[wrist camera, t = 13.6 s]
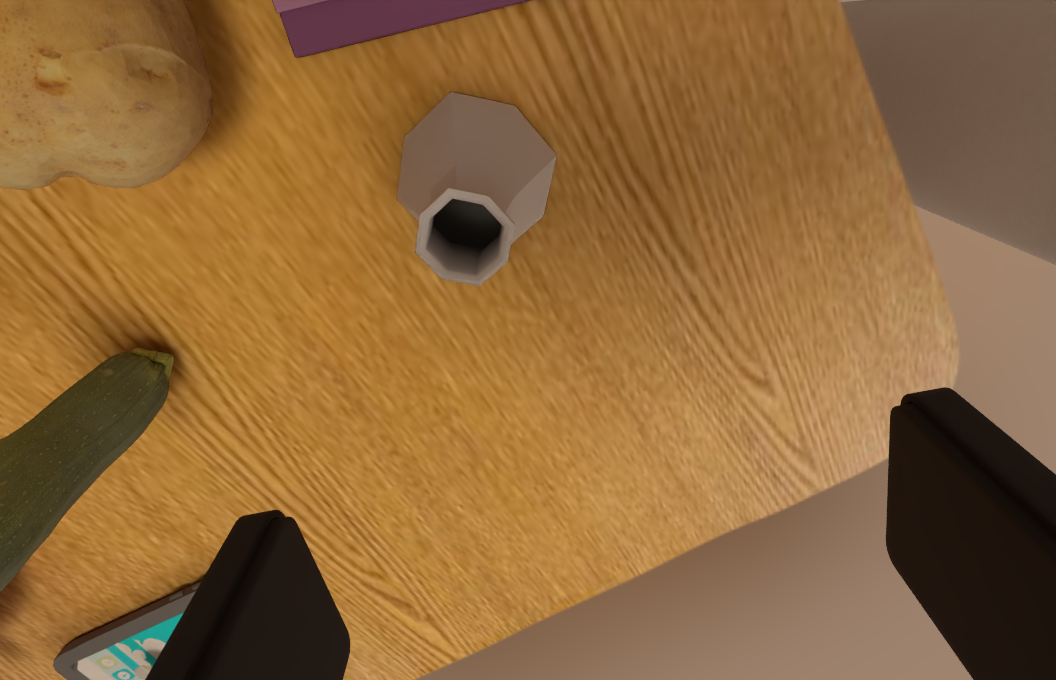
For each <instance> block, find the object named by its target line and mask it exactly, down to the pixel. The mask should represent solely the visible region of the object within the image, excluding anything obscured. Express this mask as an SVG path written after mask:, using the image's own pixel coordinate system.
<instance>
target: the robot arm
mask: <svg viewBox="0 0 1056 680" xmlns="http://www.w3.org/2000/svg"><path fill="white" fill-rule="evenodd" d="M886 546H887V551H888V554H889V557H890V559H891V561H892V563H893V565H894V567H895V568H896V570H897V571H898V573H899V574H900V575H901V576H902V578H903V579H904V581H905V582H906V584H907V585H908V587H909V588H910V590H911V591H912V593H913V594H914V595H915V597H916V598H917V600H918V601H919V603H920V604H921V605H922V607H923V608H924V610H925V611H926V612H927V614H928V615H929V617H930V618H931V619H932V621H933V623H934V624H935V625H936V627H937V628H938V630H939V631H940V632H941V634H942V635H943V637H944V638H945V640H946V641H947V642H948V644H949V645H950V647H951V648H952V650H953V651H954V652H955V654H956V655H957V657H958V658H959V660H960V661H961V662H962V664H963V665H964V667H965V668H966V669H967V671H968V672H969V674H970V675H971V677H972V678H973V680H1056V475H1055V474H1054V473H1053V472H1052V471H1051V470H1049V469H1048V468H1047V467H1046V466H1045V465H1043V464H1042V463H1041V462H1040V461H1039V460H1037V459H1036V458H1035V457H1034V456H1032V455H1031V454H1030V453H1029V452H1028V451H1026V450H1025V449H1024V448H1023V447H1022V446H1020V445H1019V444H1018V443H1017V442H1016V441H1014V440H1013V439H1012V438H1011V437H1009V436H1008V435H1007V434H1006V433H1005V432H1003V431H1002V430H1001V429H1000V428H999V427H997V426H996V425H995V424H994V423H992V422H991V421H990V420H989V419H988V418H986V417H985V416H984V415H983V414H982V413H980V412H979V411H978V410H977V409H976V408H974V407H973V406H972V405H970V403H968V402H967V401H966V400H965V399H963V398H962V397H961V396H960V395H958V394H957V393H956V392H955V391H953V390H952V389H950V388H939V389H933V390H928V391H922V392H917V393H911V394H907V395H905V396H903V398H902V400H901V405H900V406H895V407H894V408H892V410H891V415H890V439H889V468H888V497H887V527H886ZM349 653H350V638H349V633H348V630H347V628H346V626H345V624H344V622H343V620H342V618H341V615H340V613H339V611H338V609H337V607H336V605H335V603H334V601H333V599H332V596H331V594H330V592H329V590H328V588H327V586H326V584H325V582H324V580H323V577H322V575H321V573H320V571H319V569H318V567H317V565H316V563H315V561H314V559H313V556H312V554H311V552H310V550H309V548H308V546H307V544H306V542H305V540H304V537H303V535H302V533H301V531H300V529H299V527H298V525H297V523H296V521H295V520H294V519H293V518H292V517H285V516H284V514H283V513H282V512H280V511H279V510H272V511H267V512H261V513H256V514H250V515H245V516H242V517H240V518H239V519H238V520H237V521H236V523H235V524H234V526H233V528H232V530H231V531H230V533H229V535H228V537H227V538H226V540H225V542H224V543H223V545H222V547H221V549H220V550H219V552H218V554H217V556H216V557H215V559H214V561H213V563H212V564H211V566H210V568H209V570H208V571H207V573H206V575H205V576H204V578H203V580H202V582H201V583H200V585H199V587H198V589H197V590H196V592H195V594H194V596H193V597H192V599H191V601H190V602H189V604H188V606H187V608H186V609H185V611H184V613H183V615H182V616H181V618H180V620H179V622H178V623H177V625H176V627H175V629H174V630H173V632H172V634H171V635H170V637H169V639H168V641H167V642H166V644H165V646H164V648H163V649H162V651H161V653H160V655H159V656H158V658H157V660H156V662H155V663H154V665H153V667H152V668H151V670H150V672H149V674H148V675H147V677H146V679H145V680H343V676H344V673H345V669H346V665H347V662H348V658H349Z"/></svg>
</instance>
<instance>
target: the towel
mask: <svg viewBox="0 0 1056 680" xmlns="http://www.w3.org/2000/svg"><path fill="white" fill-rule="evenodd" d="M272 1H273V4H274V6H275V9H276V12H277V13H280V16H281V19H282V22H283V24H284V27H285V30H286V33H287V36H288V39H289V42H290V45H291V48H292V50H293V53H294V56H295V57H296V58H300V57H305V56H309V55H313V54H317V53H321V52H325V51H329V50H333V49H337V48H341V47H345V46H349V45H353V44H357V43H361V42H365V41H369V40H373V39H377V38H381V37H385V36H389V35H393V34H397V33H401V32H405V31H409V30H414V29H418V28H422V27H426V26H430V25H434V24H438V23H442V22H446V21H450V20H454V19H458V18H462V17H466V16H470V15H474V14H478V13H482V12H486V11H490V10H494V9H498V8H502V7H506V6H510V5H514V4H518V3H522V2H527V1H531V0H272Z"/></svg>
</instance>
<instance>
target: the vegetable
mask: <svg viewBox="0 0 1056 680" xmlns="http://www.w3.org/2000/svg"><path fill="white" fill-rule="evenodd" d="M173 362H174V359H173V355H171V354H167V353H161V352H157V351H149V350H145V349H143V348H140V347H137V348H134V349H132V350H131V352H130V353H129V352H125V353H120V354H116V355H114V356H112V357H110V358H108V359H107V360H105V361H104V362H102V363H101V364H100V365H99V366H97V367H96V368H95V369H94V370H92V371H91V372H90V373H88V374H87V375H86V376H85V377H83V378H82V379H81V380H79V381H78V382H77V383H75V384H74V385H73V386H71V387H70V388H69V389H68V390H66V391H65V392H64V393H63V394H61V395H60V396H59V397H58V398H56V399H55V400H54V401H53V402H52V403H50V404H49V405H48V406H47V407H46V408H44V409H43V410H42V411H41V412H40V413H39V414H38V415H36V416H35V417H34V418H33V419H32V420H30V421H29V422H28V423H26V424H25V425H23V426H22V427H21V428H19V429H18V430H16V431H15V432H13V433H12V434H10V435H8V436H7V437H5V438H3V439H0V592H1V591H2V590H3V589H4V588H5V587H6V585H7V584H8V583H9V582H10V581H11V580H12V579H13V578H14V577H15V576H16V575H17V573H18V572H19V571H20V570H21V568H22V567H23V566H24V564H25V563H26V562H27V560H28V559H29V558H30V556H31V555H32V554H33V553H34V552H35V551H36V550H37V548H38V547H39V546H40V545H41V544H42V543H43V542H44V541H45V540H46V538H47V537H48V536H49V535H50V534H51V532H52V531H53V530H54V528H55V527H56V525H57V524H58V523H59V521H60V520H61V519H62V517H63V516H64V515H65V513H66V512H67V511H68V510H69V509H70V508H71V507H72V505H73V504H74V503H75V502H76V501H77V500H78V499H79V498H80V496H81V495H82V494H83V493H84V492H85V491H86V490H87V489H88V488H89V487H90V486H91V485H92V484H93V483H94V481H95V480H96V479H97V478H98V477H99V476H100V475H101V474H102V473H103V472H104V471H105V470H106V469H107V468H108V467H109V466H110V465H111V464H112V463H113V462H114V461H115V460H116V459H117V458H118V457H120V456H121V455H122V454H123V453H124V452H125V451H126V450H127V449H128V448H129V447H130V446H131V445H132V444H133V443H134V442H135V441H136V440H137V439H138V438H139V437H140V436H141V435H142V433H143V432H144V431H145V429H146V428H147V427H148V425H149V424H150V423H151V421H152V420H153V419H154V417H155V416H156V415H157V413H158V412H159V410H160V409H161V408H162V406H163V405H164V402H165V400H166V398H167V395H168V390H169V382H168V379H169V376H170V374H171V371H172V366H173Z"/></svg>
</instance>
